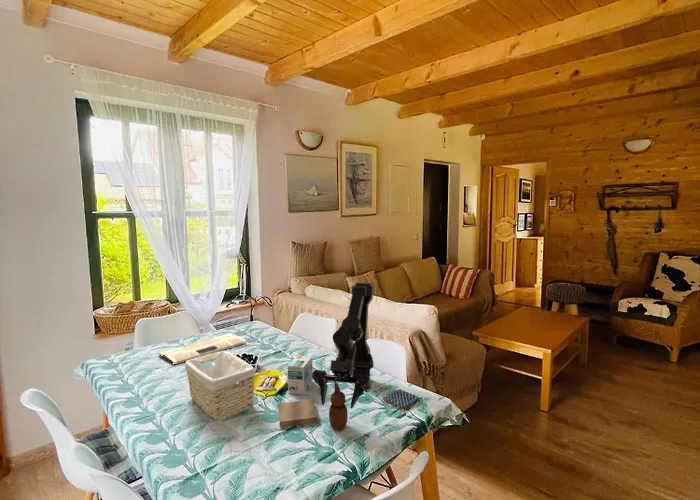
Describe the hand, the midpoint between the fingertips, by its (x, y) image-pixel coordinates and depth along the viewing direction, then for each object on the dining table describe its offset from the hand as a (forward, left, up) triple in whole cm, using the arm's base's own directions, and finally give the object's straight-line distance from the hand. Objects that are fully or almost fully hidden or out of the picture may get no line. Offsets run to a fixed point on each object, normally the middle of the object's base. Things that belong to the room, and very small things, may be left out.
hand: (336, 406), depth 121 cm
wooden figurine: (-1, -1, -8) cm, 8 cm away
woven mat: (-26, -12, -8) cm, 30 cm away
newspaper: (+52, -85, -8) cm, 100 cm away
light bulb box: (+8, -31, -8) cm, 33 cm away
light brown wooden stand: (+11, -11, -8) cm, 18 cm away
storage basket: (+37, -26, -8) cm, 46 cm away
